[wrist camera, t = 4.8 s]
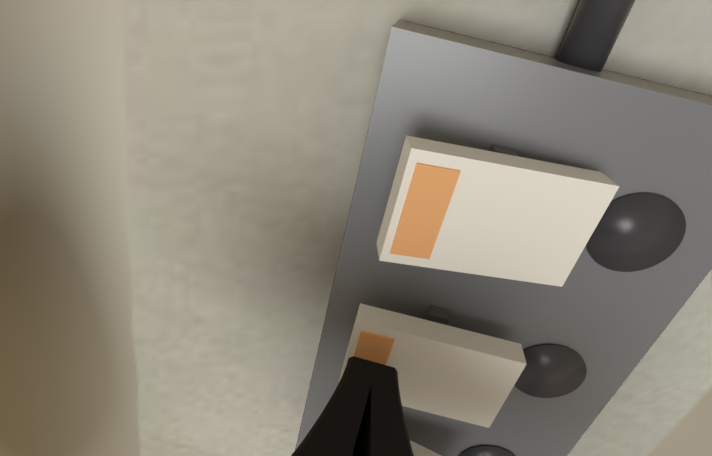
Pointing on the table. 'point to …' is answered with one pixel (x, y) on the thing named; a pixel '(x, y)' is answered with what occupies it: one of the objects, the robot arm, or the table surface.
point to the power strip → (599, 257)
